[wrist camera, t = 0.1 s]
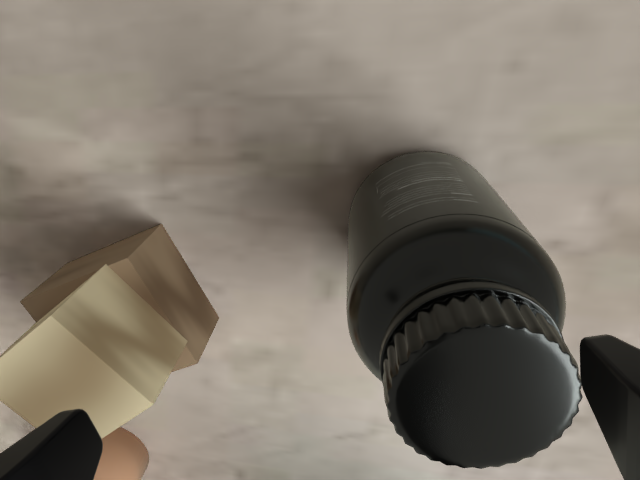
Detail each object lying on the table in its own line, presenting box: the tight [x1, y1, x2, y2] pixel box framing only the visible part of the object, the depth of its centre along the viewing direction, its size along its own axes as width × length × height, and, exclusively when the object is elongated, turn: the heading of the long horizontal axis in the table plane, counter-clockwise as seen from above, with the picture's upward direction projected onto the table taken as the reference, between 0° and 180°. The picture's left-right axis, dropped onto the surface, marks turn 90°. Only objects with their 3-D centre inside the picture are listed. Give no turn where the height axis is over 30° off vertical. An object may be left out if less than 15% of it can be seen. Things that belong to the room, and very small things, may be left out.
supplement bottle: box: [347, 151, 582, 469], centre depth 17 cm, size 7×7×12 cm
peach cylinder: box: [94, 427, 149, 480], centre depth 29 cm, size 5×5×4 cm
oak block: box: [0, 264, 188, 439], centre depth 20 cm, size 5×5×4 cm
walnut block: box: [20, 224, 219, 372], centre depth 24 cm, size 6×6×4 cm
